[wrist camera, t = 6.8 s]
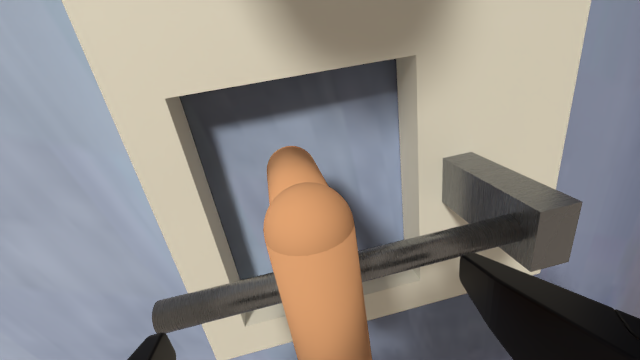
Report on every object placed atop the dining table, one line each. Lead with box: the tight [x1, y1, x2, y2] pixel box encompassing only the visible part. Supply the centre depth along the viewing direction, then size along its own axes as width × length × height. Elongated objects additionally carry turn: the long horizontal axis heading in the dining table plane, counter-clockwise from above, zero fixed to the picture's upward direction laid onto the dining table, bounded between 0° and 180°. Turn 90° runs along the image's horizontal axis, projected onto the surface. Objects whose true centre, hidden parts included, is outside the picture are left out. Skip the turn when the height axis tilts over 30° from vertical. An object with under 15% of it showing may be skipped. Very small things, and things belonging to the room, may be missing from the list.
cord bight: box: [263, 146, 372, 360], centre depth 10 cm, size 2×8×6 cm, turn 9°
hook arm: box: [152, 152, 582, 334], centre depth 12 cm, size 14×2×6 cm, turn 99°
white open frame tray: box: [62, 0, 591, 360], centre depth 15 cm, size 20×18×2 cm
